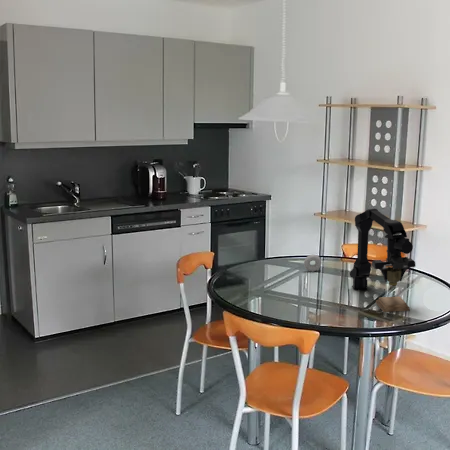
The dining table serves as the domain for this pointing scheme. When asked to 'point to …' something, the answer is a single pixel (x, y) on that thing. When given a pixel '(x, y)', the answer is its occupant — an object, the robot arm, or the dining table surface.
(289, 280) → the dining table surface
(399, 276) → the cup
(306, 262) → the donut
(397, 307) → the plinth
